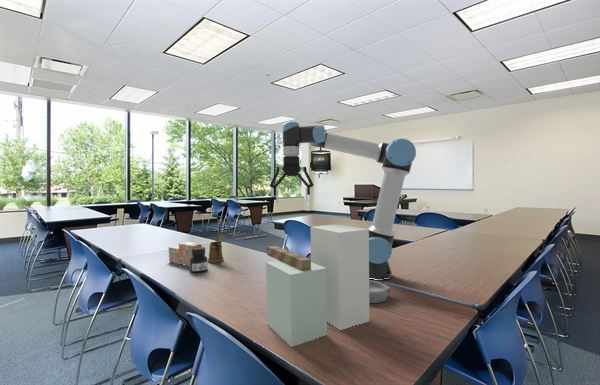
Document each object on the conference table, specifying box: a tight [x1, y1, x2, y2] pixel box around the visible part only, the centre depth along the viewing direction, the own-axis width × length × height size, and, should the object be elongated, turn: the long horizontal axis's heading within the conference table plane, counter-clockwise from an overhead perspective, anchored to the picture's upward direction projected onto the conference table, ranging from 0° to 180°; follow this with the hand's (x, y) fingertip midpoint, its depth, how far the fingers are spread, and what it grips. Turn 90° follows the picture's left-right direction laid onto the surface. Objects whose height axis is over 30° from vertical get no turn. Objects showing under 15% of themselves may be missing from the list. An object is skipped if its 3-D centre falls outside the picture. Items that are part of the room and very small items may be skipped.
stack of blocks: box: [168, 241, 203, 267], centre depth 173 cm, size 21×6×12 cm, turn 59°
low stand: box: [265, 260, 328, 348], centre depth 92 cm, size 16×12×20 cm
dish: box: [369, 280, 392, 304], centre depth 118 cm, size 14×14×5 cm
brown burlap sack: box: [207, 232, 226, 264], centre depth 175 cm, size 9×14×18 cm, turn 41°
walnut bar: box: [266, 245, 311, 271], centre depth 96 cm, size 24×3×3 cm, turn 31°
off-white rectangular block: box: [310, 223, 370, 331], centre depth 100 cm, size 16×12×30 cm
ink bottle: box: [189, 246, 209, 274], centre depth 158 cm, size 10×9×12 cm
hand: (291, 202), depth 138 cm, fingers open, 13 cm apart
